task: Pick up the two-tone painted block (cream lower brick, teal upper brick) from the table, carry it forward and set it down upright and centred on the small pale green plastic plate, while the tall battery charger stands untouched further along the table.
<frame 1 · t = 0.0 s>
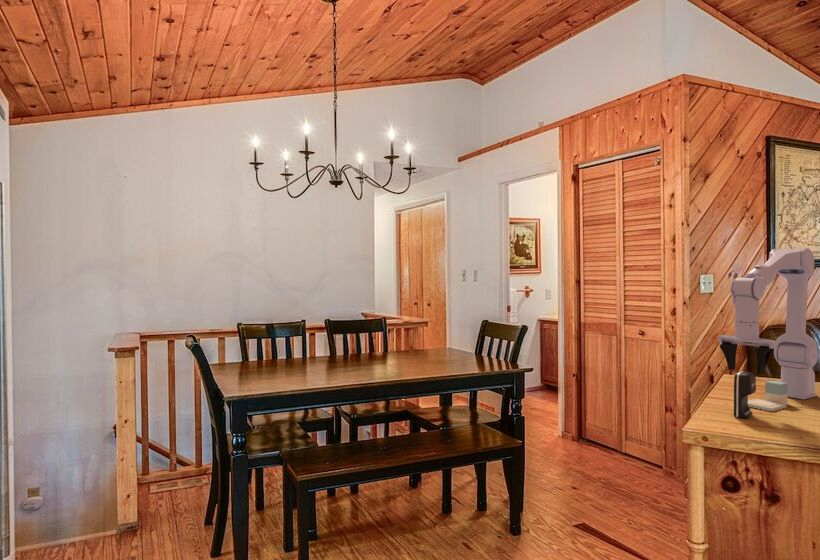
hand: (746, 371, 156), 10 cm above the table, tool pointing down, fingers open, 7 cm apart
plate: (763, 406, 159), on the table
brick stack: (776, 403, 162), on the table
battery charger: (745, 417, 149), on the table
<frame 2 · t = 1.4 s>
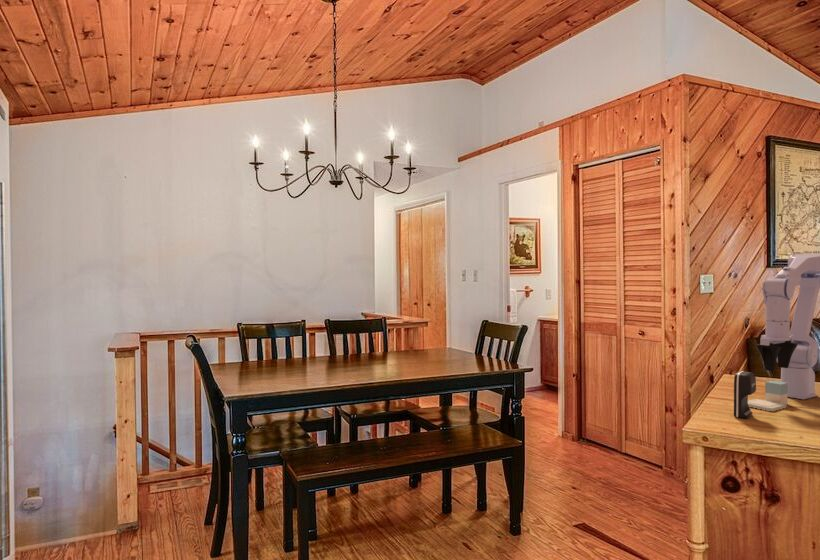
hand: (776, 369, 162), 10 cm above the table, tool pointing down, fingers open, 7 cm apart
nothing on the table moved.
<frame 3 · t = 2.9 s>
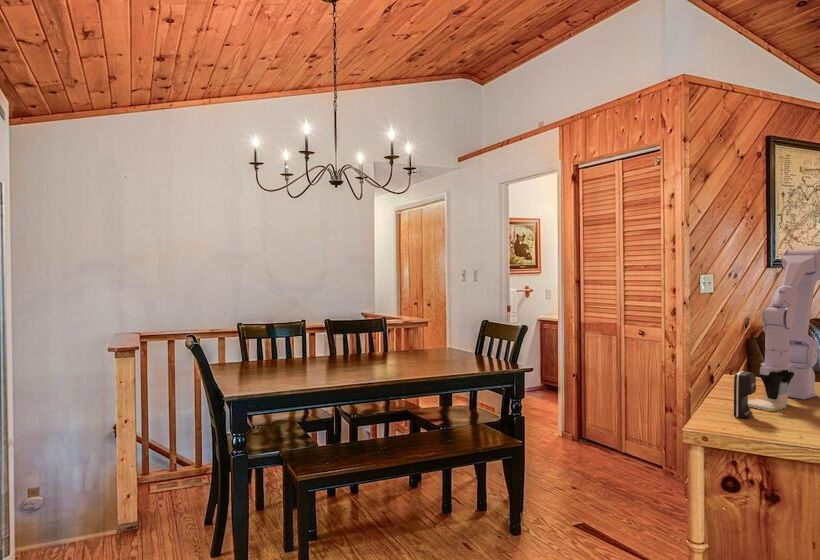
hand: (776, 397, 162), 2 cm above the table, tool pointing down, fingers closed on brick stack, 4 cm apart
brick stack: (776, 403, 162), on the table, touching gripper
everything else where it was.
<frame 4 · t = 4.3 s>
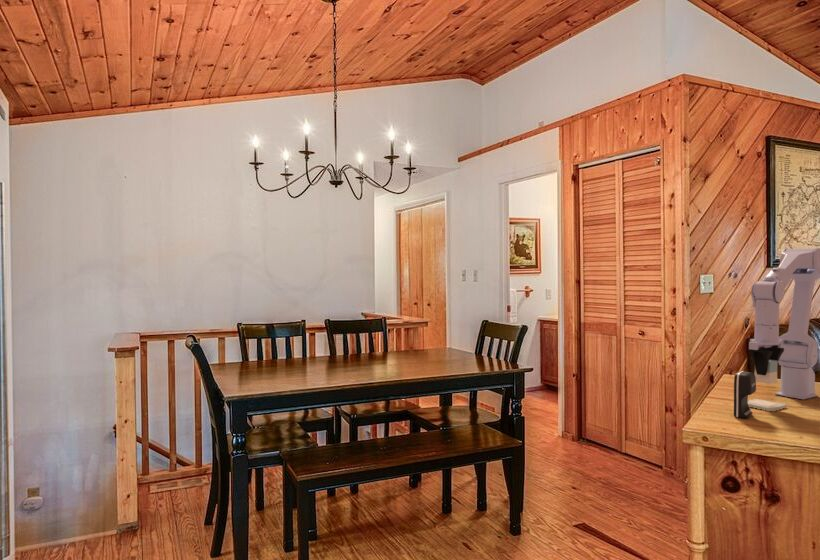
hand: (765, 373, 159), 9 cm above the table, tool pointing down, fingers closed on brick stack, 4 cm apart
brick stack: (765, 381, 159), point 7 cm above the table, touching gripper
everything else where it was.
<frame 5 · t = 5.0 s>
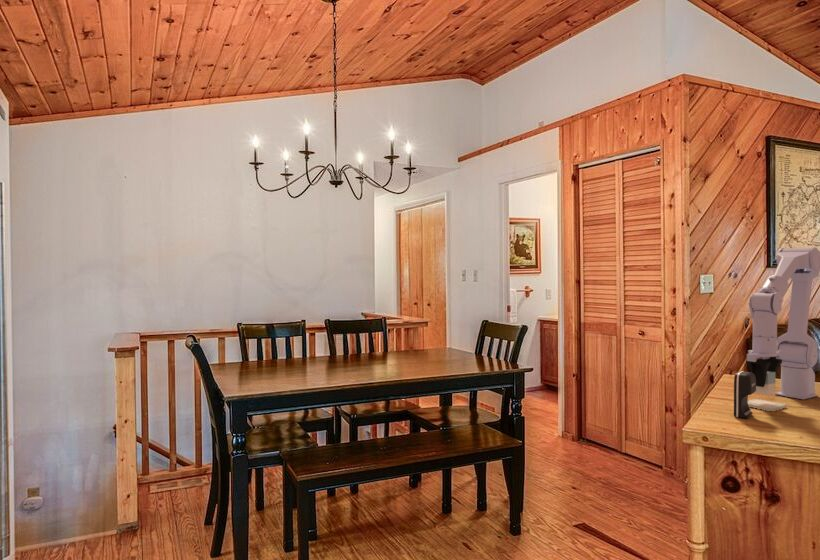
hand: (763, 385, 159), 6 cm above the table, tool pointing down, fingers closed on brick stack, 4 cm apart
brick stack: (763, 393, 159), point 4 cm above the table, touching gripper
everything else where it was.
when the fingers open (4 cm above the table, at t = 5.8 s): brick stack stays where it is, resting on plate.
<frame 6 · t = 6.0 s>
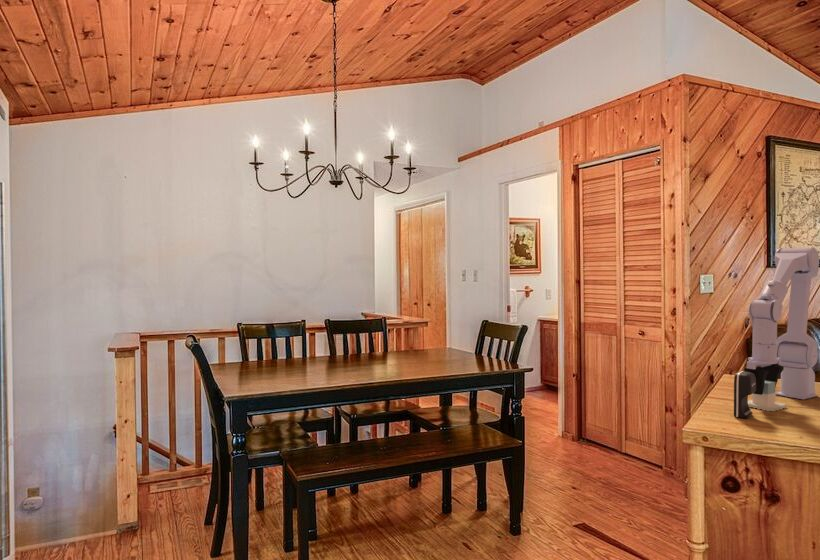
hand: (763, 392, 159), 4 cm above the table, tool pointing down, fingers open, 6 cm apart
brick stack: (763, 403, 159), point 1 cm above the table, touching plate
everything else where it was.
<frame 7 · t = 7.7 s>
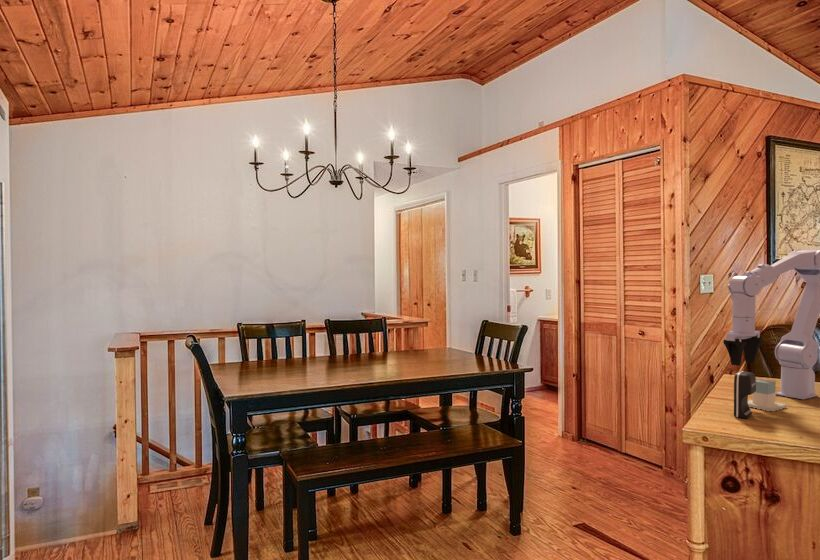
hand: (742, 363, 167), 10 cm above the table, tool pointing down, fingers open, 7 cm apart
nothing on the table moved.
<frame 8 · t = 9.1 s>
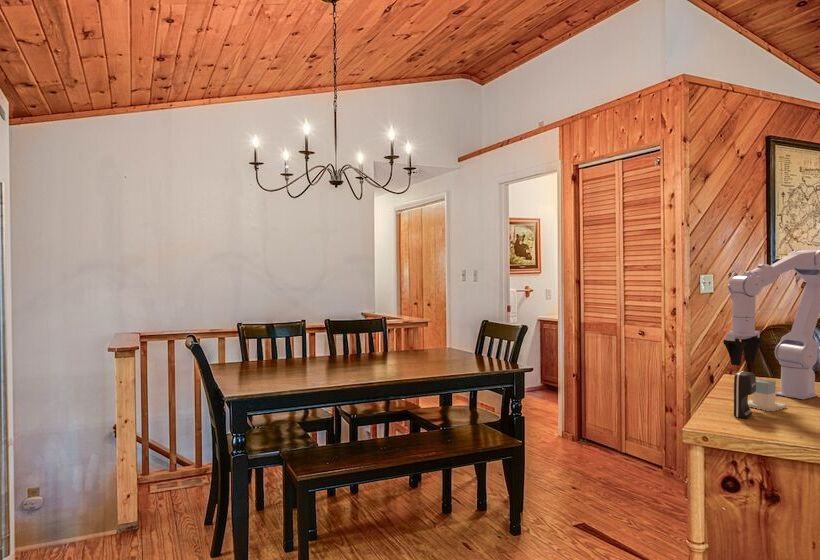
hand: (742, 363, 167), 10 cm above the table, tool pointing down, fingers open, 7 cm apart
nothing on the table moved.
at the end: brick stack 0.0 cm off-centre on the plate, point 1.0 cm above the plate's base; brick stack tilted 0°; the gripper is holding nothing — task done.
